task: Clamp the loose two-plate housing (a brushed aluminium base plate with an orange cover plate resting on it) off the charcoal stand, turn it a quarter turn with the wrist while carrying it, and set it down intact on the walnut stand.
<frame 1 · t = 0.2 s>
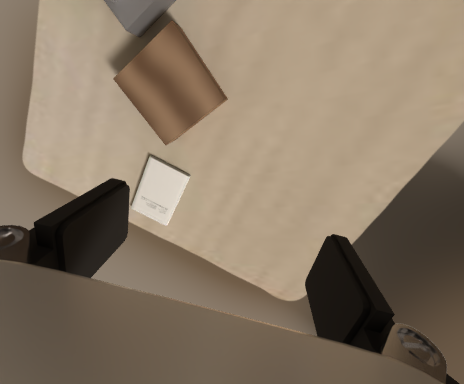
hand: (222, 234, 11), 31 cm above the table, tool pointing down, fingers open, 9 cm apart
external hard drive: (161, 190, 46), on the table
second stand: (177, 89, 37), on the table
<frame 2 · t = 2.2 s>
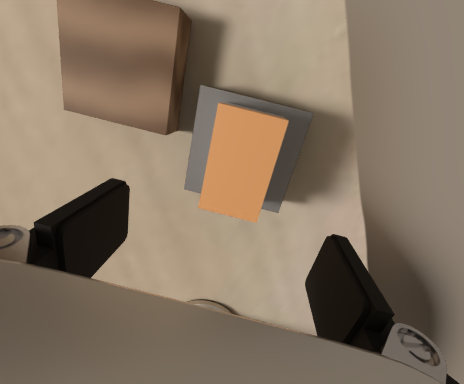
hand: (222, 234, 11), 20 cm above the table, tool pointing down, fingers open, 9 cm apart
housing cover: (240, 162, 23), point 7 cm above the table, touching housing base
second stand: (135, 68, 27), on the table
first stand: (244, 147, 29), on the table
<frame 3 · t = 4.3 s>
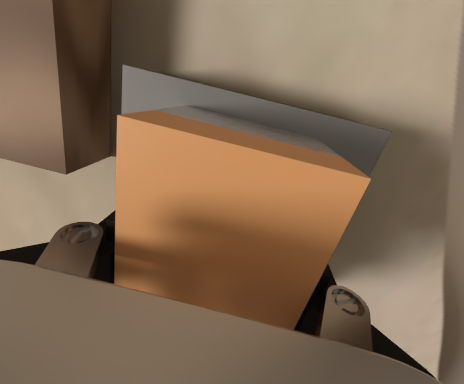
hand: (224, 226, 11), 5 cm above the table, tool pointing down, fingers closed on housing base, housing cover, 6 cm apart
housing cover: (216, 257, 9), point 7 cm above the table, touching gripper, housing base
housing base: (227, 215, 12), point 4 cm above the table, touching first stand, gripper, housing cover
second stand: (13, 36, 14), on the table
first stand: (234, 187, 16), on the table
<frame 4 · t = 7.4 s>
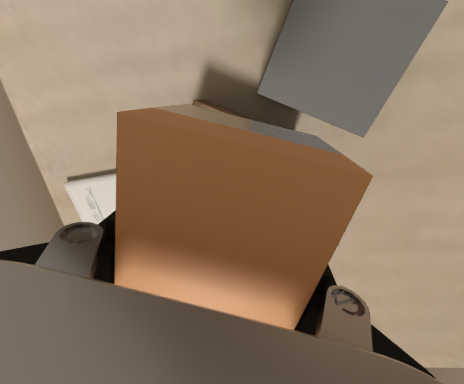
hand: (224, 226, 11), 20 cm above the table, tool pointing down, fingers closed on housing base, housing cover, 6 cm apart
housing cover: (216, 256, 9), point 22 cm above the table, touching gripper, housing base
external hard drive: (117, 197, 36), on the table
housing base: (227, 214, 12), point 19 cm above the table, touching gripper, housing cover
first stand: (330, 58, 25), on the table
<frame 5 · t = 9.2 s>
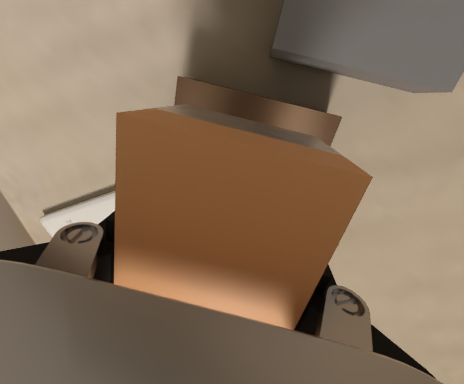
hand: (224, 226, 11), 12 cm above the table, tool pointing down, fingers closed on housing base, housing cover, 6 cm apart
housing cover: (216, 257, 9), point 14 cm above the table, touching gripper, housing base
external hard drive: (107, 226, 28), on the table
housing base: (227, 214, 12), point 11 cm above the table, touching gripper, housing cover
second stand: (242, 161, 22), on the table
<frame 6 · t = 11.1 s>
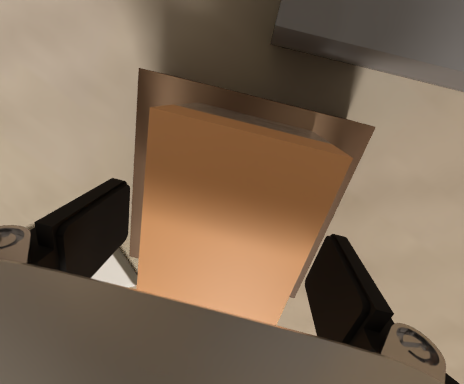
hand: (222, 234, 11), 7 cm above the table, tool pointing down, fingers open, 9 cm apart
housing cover: (224, 234, 10), point 7 cm above the table, touching housing base
external hard drive: (73, 256, 23), on the table
housing base: (232, 202, 14), point 4 cm above the table, touching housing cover, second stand
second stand: (236, 180, 17), on the table
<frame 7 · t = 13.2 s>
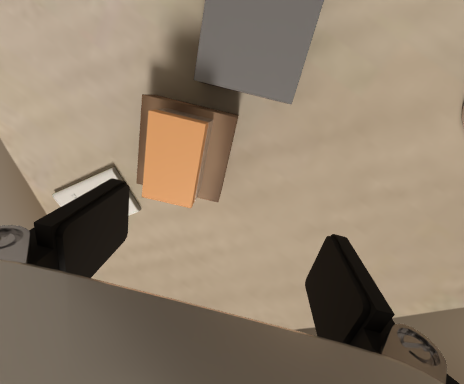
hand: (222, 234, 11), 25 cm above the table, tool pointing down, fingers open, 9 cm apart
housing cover: (176, 158, 27), point 7 cm above the table, touching housing base
external hard drive: (101, 199, 40), on the table
housing base: (184, 152, 30), point 4 cm above the table, touching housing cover, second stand
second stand: (190, 146, 34), on the table
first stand: (255, 41, 28), on the table
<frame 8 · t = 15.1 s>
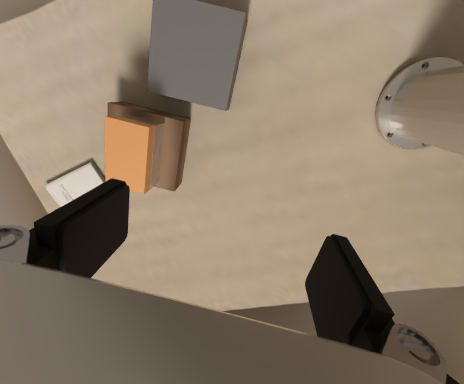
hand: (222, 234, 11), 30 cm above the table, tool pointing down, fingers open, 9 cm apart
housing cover: (132, 154, 34), point 7 cm above the table, touching housing base
external hard drive: (84, 189, 47), on the table
housing base: (144, 149, 37), point 4 cm above the table, touching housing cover, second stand
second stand: (153, 144, 41), on the table
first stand: (199, 59, 35), on the table
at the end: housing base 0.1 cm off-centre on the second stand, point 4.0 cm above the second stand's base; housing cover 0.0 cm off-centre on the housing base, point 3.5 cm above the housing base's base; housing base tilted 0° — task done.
